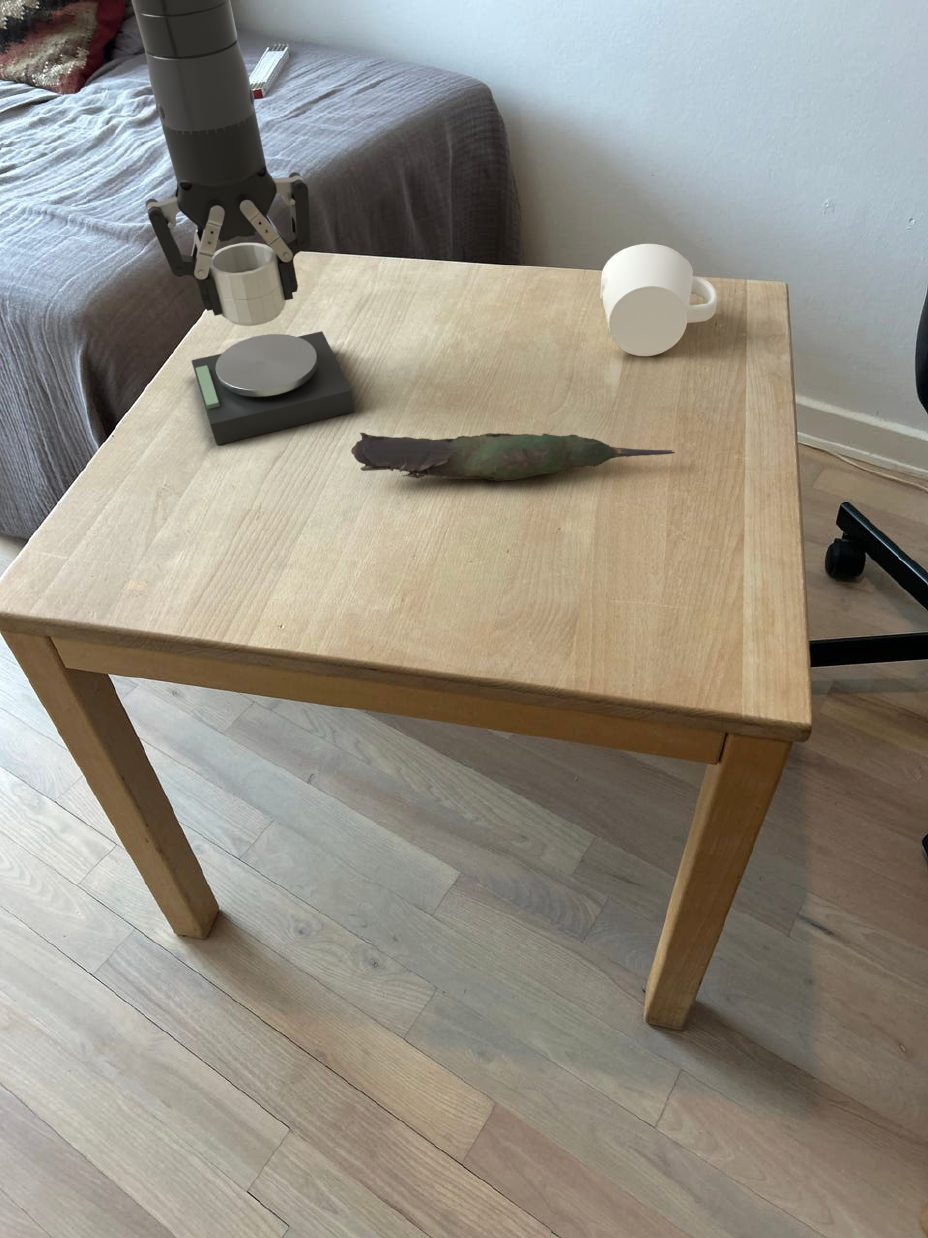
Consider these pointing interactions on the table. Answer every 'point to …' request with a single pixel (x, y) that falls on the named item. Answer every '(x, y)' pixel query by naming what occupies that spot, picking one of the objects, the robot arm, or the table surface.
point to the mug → (652, 298)
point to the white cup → (248, 283)
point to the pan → (266, 365)
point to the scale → (274, 398)
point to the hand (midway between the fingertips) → (252, 302)
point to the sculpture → (487, 455)
